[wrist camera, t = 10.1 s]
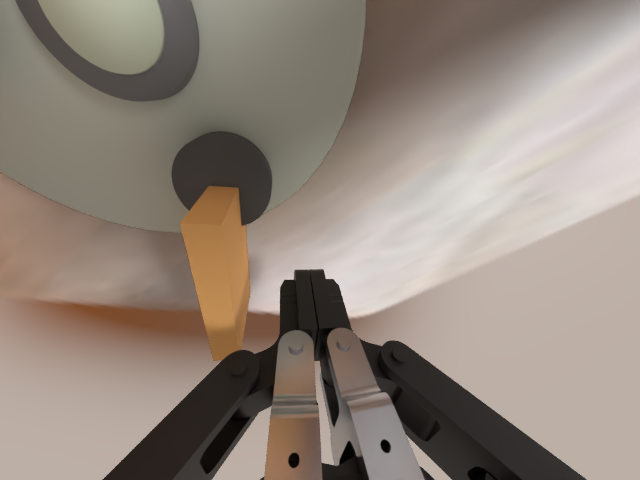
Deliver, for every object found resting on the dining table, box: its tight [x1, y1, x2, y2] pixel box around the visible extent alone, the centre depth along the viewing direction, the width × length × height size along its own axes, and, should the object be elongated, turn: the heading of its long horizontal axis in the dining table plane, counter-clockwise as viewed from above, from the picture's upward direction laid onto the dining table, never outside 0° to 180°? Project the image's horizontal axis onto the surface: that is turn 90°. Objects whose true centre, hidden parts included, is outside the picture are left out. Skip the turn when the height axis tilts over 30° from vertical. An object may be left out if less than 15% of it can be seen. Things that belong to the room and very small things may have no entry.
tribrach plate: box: [0, 0, 366, 233], centre depth 8 cm, size 17×17×3 cm
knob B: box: [171, 131, 272, 361], centre depth 10 cm, size 10×4×4 cm, turn 174°
